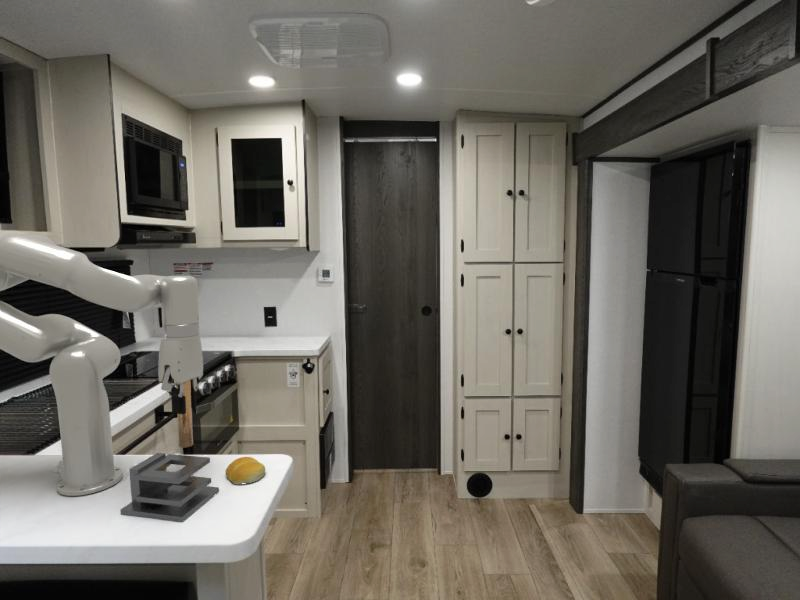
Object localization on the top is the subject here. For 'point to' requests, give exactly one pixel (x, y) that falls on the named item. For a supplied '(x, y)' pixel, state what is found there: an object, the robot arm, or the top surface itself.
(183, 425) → the brown rod
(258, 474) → the bread roll
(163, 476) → the collar stand
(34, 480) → the top surface
